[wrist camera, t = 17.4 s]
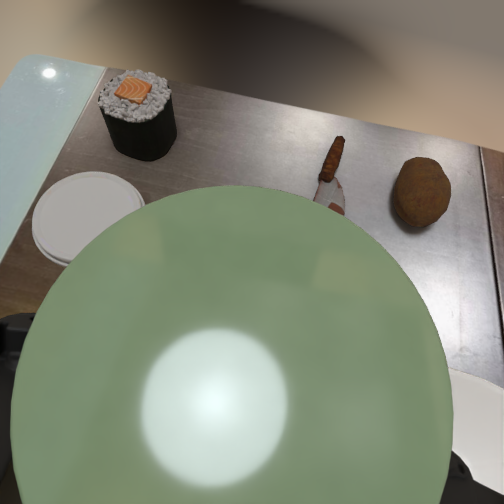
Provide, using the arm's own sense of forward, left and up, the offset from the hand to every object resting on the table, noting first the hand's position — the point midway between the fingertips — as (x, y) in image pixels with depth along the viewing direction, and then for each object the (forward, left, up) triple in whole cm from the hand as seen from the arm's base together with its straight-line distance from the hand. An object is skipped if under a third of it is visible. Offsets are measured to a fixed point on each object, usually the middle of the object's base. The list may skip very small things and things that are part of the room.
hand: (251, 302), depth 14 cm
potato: (+18, +26, -25) cm, 41 cm away
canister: (0, -4, -3) cm, 5 cm away
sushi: (-19, +27, -25) cm, 42 cm away
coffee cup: (-15, +8, -25) cm, 31 cm away
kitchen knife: (+7, +23, -25) cm, 35 cm away
